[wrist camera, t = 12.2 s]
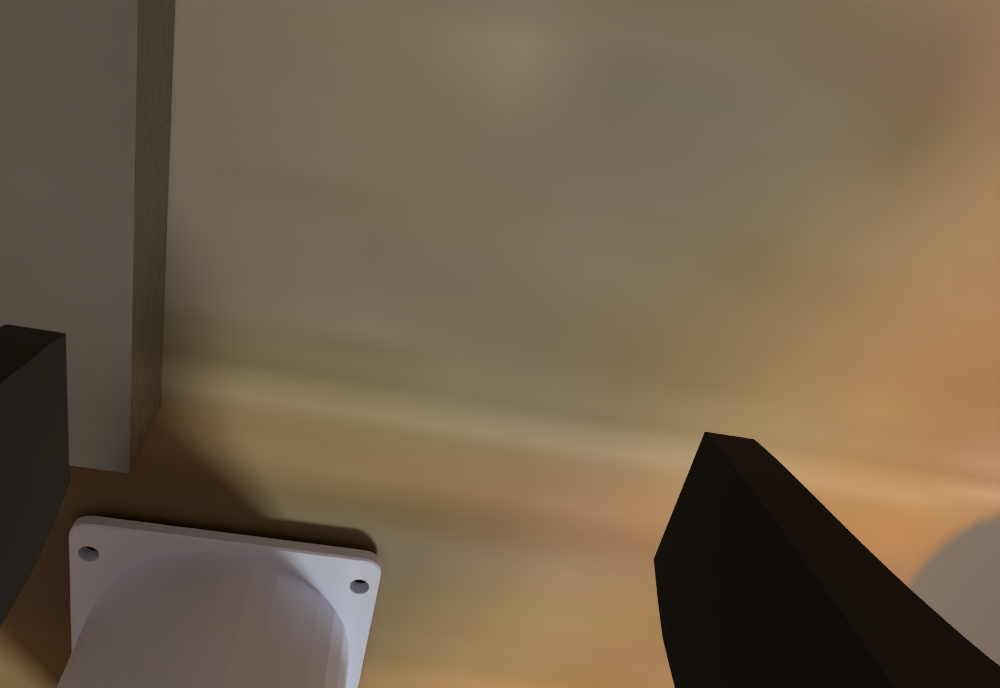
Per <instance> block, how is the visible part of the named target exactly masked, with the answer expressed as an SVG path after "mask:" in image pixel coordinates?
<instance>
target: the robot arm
mask: <svg viewBox="0 0 1000 688" xmlns="http://www.w3.org/2000/svg"><path fill="white" fill-rule="evenodd" d="M69 482H70V476H69V436H68V397H67V357H66V333H61V332H54V331H48V330H41V329H35V328H28V327H22V326H15V325H9V324H5V325H3V326H1V327H0V626H1V624H2V623H3V621H4V619H5V617H6V616H7V614H8V612H9V610H10V609H11V607H12V605H13V603H14V602H15V600H16V598H17V596H18V595H19V593H20V591H21V589H22V588H23V586H24V584H25V582H26V581H27V579H28V577H29V575H30V573H31V572H32V570H33V568H34V566H35V564H36V563H37V560H38V558H39V556H40V553H41V551H42V549H43V546H44V544H45V542H46V539H47V537H48V535H49V532H50V530H51V527H52V525H53V523H54V520H55V517H56V515H57V512H58V510H59V507H60V505H61V502H62V500H63V497H64V495H65V492H66V489H67V487H68V484H69ZM85 546H89V547H93V548H95V549H96V550H97V551H93V550H90V549H88V548H87V547H85ZM654 565H655V575H656V586H657V596H658V605H659V613H660V620H661V628H662V636H663V640H664V645H665V649H666V653H667V657H668V661H669V665H670V669H671V673H672V677H673V681H674V685H675V688H1000V666H999V665H998V664H996V663H995V662H994V661H992V660H991V659H990V658H989V657H988V656H986V655H985V654H984V653H983V652H982V651H980V650H979V649H978V648H977V647H975V646H974V645H973V644H972V643H971V642H969V641H968V640H967V639H966V638H965V637H963V636H962V635H961V634H960V633H959V632H958V631H957V630H955V629H954V628H953V627H952V626H951V625H950V624H948V623H947V622H946V621H945V620H944V619H943V618H942V617H941V616H940V615H938V614H937V613H936V612H935V611H934V610H933V609H932V608H931V607H929V606H928V605H927V604H926V603H925V602H924V601H923V600H922V599H920V598H919V597H918V596H917V595H916V594H915V593H914V592H913V591H911V590H910V589H909V588H908V587H907V586H906V585H905V584H904V583H903V582H902V581H901V580H900V579H899V578H898V577H896V576H895V575H894V574H893V573H892V572H891V571H890V570H889V569H888V568H887V567H886V566H885V565H884V564H883V563H882V562H881V561H880V560H878V559H877V558H876V557H875V556H874V555H873V554H872V553H871V552H870V551H869V550H868V549H867V548H866V547H865V546H864V545H863V544H862V543H861V542H860V541H859V540H858V539H857V538H856V537H855V536H854V535H853V534H852V533H851V532H850V531H849V530H848V529H847V528H846V527H845V526H844V525H843V524H842V523H841V522H840V521H839V520H838V519H837V518H836V517H835V516H834V515H833V514H832V513H831V512H830V511H829V510H828V509H827V508H825V507H824V506H823V505H822V504H821V503H820V502H819V501H818V500H817V499H816V498H815V497H814V496H813V495H812V494H811V493H810V492H809V491H808V490H807V489H806V488H805V487H804V486H803V485H802V484H801V483H800V482H799V481H798V480H797V479H796V478H795V477H794V476H793V475H792V474H791V473H790V472H789V471H788V470H787V469H786V468H785V467H784V466H783V465H782V464H781V463H780V462H779V461H778V460H777V459H776V458H775V457H774V456H772V455H771V454H770V453H769V452H768V451H767V450H766V449H765V448H764V447H762V446H761V445H760V444H759V443H758V442H756V441H755V440H754V439H748V438H742V437H736V436H729V435H723V434H716V433H710V432H705V433H704V436H703V438H702V441H701V443H700V445H699V448H698V450H697V453H696V455H695V458H694V460H693V463H692V465H691V468H690V470H689V473H688V475H687V478H686V480H685V483H684V485H683V488H682V490H681V493H680V495H679V498H678V500H677V503H676V505H675V508H674V510H673V513H672V515H671V518H670V520H669V523H668V525H667V528H666V530H665V533H664V535H663V537H662V540H661V542H660V545H659V547H658V550H657V552H656V555H655V557H654ZM69 566H70V607H71V648H72V653H71V656H70V658H69V660H68V663H67V665H66V667H65V669H64V672H63V674H62V676H61V679H60V681H59V683H58V685H57V688H358V684H359V679H360V674H361V669H362V664H363V659H364V655H365V650H366V645H367V640H368V635H369V630H370V625H371V620H372V615H373V610H374V605H375V601H376V596H377V591H378V586H379V581H380V576H381V567H382V566H381V560H380V558H379V557H378V556H377V555H376V554H374V553H373V552H370V551H366V550H359V549H351V548H343V547H335V546H327V545H319V544H311V543H304V542H296V541H288V540H280V539H272V538H264V537H256V536H249V535H241V534H233V533H225V532H217V531H209V530H201V529H193V528H186V527H178V526H170V525H162V524H154V523H146V522H138V521H131V520H123V519H115V518H107V517H99V516H83V517H81V518H78V519H77V520H76V521H75V522H74V524H73V526H72V528H71V530H70V533H69ZM355 580H363V581H366V582H365V583H357V582H355Z"/></svg>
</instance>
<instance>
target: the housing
mask: <svg viewBox="0 0 1000 688" xmlns="http://www.w3.org/2000/svg"><path fill="white" fill-rule="evenodd" d="M174 18H175V0H0V327H1V326H3V325H5V324H9V325H15V326H22V327H28V328H35V329H41V330H48V331H54V332H61V333H66V357H67V397H68V436H69V465H70V466H77V467H85V468H92V469H100V470H107V471H115V472H122V473H130V471H131V469H132V467H133V465H134V463H135V460H136V458H137V456H138V454H139V452H140V450H141V448H142V445H143V443H144V441H145V439H146V437H147V435H148V433H149V431H150V428H151V426H152V424H153V422H154V420H155V418H156V416H157V413H158V411H159V409H160V394H161V367H162V340H163V313H164V286H165V260H166V233H167V206H168V179H169V152H170V125H171V99H172V72H173V45H174Z"/></svg>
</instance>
